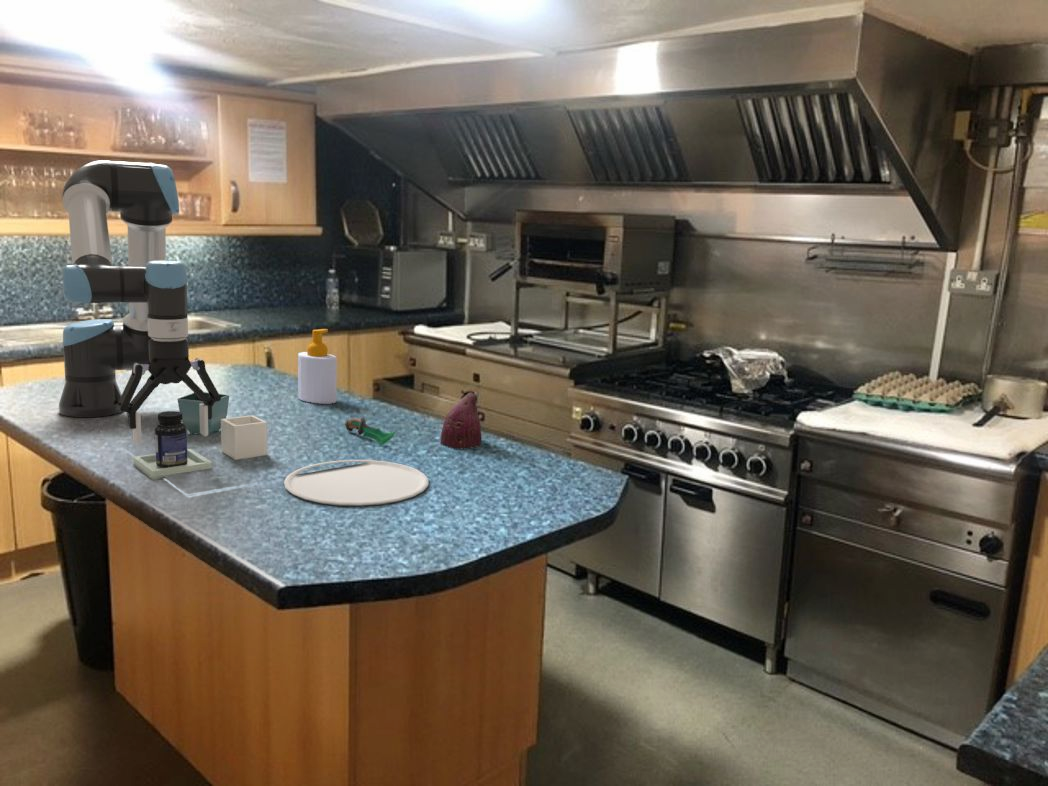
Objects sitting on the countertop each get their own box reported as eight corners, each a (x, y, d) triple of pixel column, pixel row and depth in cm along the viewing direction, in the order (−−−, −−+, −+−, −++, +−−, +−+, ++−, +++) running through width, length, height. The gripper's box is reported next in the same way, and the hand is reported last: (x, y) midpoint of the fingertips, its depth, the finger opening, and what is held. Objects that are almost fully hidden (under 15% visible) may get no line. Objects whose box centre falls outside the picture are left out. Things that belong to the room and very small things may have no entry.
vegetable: (485, 454, 214) (504, 398, 211) (465, 458, 204) (485, 400, 201) (450, 437, 218) (469, 382, 215) (429, 441, 208) (449, 383, 205)
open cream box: (221, 453, 191) (220, 419, 190) (253, 449, 196) (252, 415, 194) (235, 462, 186) (234, 426, 184) (267, 457, 191) (267, 422, 189)
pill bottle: (193, 463, 182) (192, 412, 179) (173, 470, 176) (171, 418, 174) (170, 459, 184) (168, 408, 181) (149, 466, 178) (147, 414, 176)
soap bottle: (344, 401, 248) (344, 331, 244) (323, 406, 241) (323, 334, 237) (311, 394, 255) (311, 326, 250) (290, 398, 248) (290, 328, 244)
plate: (361, 520, 157) (361, 514, 156) (252, 487, 172) (252, 481, 171) (457, 483, 181) (457, 477, 181) (354, 456, 196) (354, 451, 196)
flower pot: (211, 438, 203) (210, 401, 201) (177, 435, 204) (176, 398, 203) (230, 430, 211) (230, 394, 209) (198, 426, 213) (197, 391, 211)
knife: (343, 431, 216) (343, 412, 214) (349, 430, 217) (349, 411, 216) (392, 451, 201) (393, 430, 200) (399, 450, 202) (399, 429, 201)
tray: (133, 464, 180) (133, 456, 180) (190, 456, 188) (190, 448, 188) (152, 480, 172) (152, 471, 171) (212, 470, 179) (212, 462, 179)
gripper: (108, 345, 163) (113, 452, 168) (235, 337, 180) (237, 435, 184) (96, 338, 169) (102, 442, 174) (221, 331, 185) (223, 427, 190)
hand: (171, 439), depth 179 cm, fingers open, 13 cm apart
